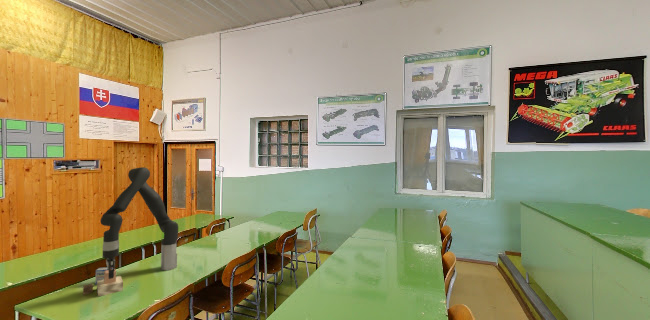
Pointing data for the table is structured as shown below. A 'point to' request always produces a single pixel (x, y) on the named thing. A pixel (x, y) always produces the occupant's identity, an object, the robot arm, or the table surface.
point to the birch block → (109, 286)
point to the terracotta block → (106, 277)
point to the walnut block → (87, 289)
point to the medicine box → (100, 274)
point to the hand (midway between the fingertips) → (110, 275)
